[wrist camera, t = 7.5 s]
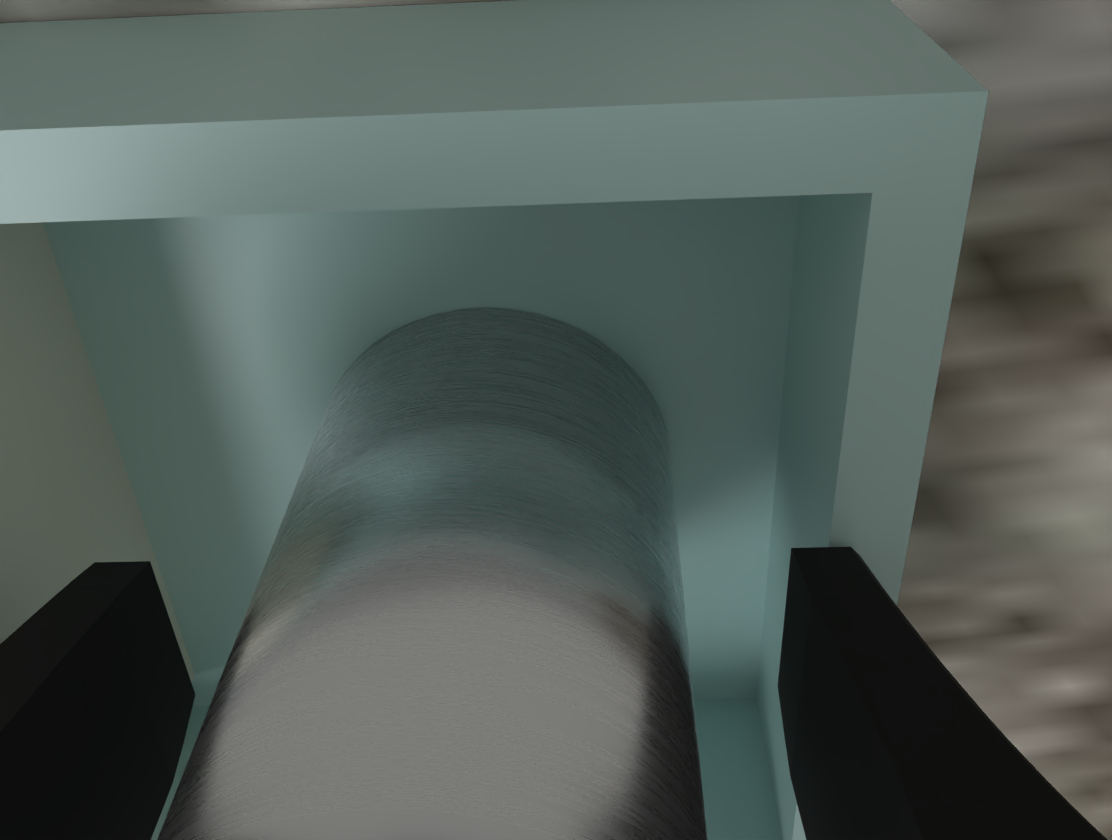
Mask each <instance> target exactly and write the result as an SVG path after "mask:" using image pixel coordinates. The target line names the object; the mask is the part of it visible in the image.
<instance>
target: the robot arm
mask: <svg viewBox="0 0 1112 840" xmlns="http://www.w3.org/2000/svg"><path fill="white" fill-rule="evenodd" d="M778 693H779V700H780V707H781V715H782V722H783V730H784V737H785V744H786V751H787V757H788V764H789V771H790V777H791V781H792V785H793V789H794V793H795V797H796V801H797V805H798V809H799V813H800V817H801V821H802V825H803V829H804V833H805V837H806V840H1107V839H1106V838H1105V837H1104V836H1103V835H1102V834H1101V833H1100V832H1099V831H1098V830H1096V829H1095V828H1094V827H1093V826H1092V825H1091V824H1090V823H1089V822H1088V821H1087V820H1086V819H1085V818H1084V817H1083V816H1082V815H1081V814H1080V813H1079V812H1078V811H1077V810H1076V809H1075V808H1074V807H1073V806H1072V805H1071V804H1070V803H1069V802H1068V801H1067V800H1066V799H1065V798H1064V797H1063V796H1062V795H1061V794H1060V793H1059V792H1058V791H1057V790H1056V789H1055V788H1054V787H1053V786H1052V785H1051V784H1050V783H1049V782H1048V781H1047V780H1046V779H1045V778H1044V777H1043V776H1042V775H1041V774H1040V773H1039V772H1038V771H1037V770H1036V769H1035V767H1034V766H1033V765H1032V764H1031V763H1030V762H1029V761H1028V760H1027V759H1026V758H1025V757H1024V756H1023V755H1022V754H1021V753H1020V752H1019V751H1018V750H1017V748H1016V747H1015V746H1014V745H1013V744H1012V743H1011V742H1010V741H1009V740H1008V739H1007V738H1006V737H1005V736H1004V734H1003V733H1002V732H1001V731H1000V730H999V729H998V728H997V727H996V726H995V724H994V723H993V722H992V721H991V720H990V719H989V718H988V717H987V716H986V714H985V713H984V712H983V711H982V710H981V709H980V707H979V706H978V705H977V704H976V703H975V702H974V700H973V699H972V698H971V697H970V696H969V695H968V693H967V692H966V691H965V690H964V689H963V687H962V686H961V685H960V684H959V683H958V682H957V680H956V679H955V678H954V677H953V676H952V675H951V673H950V672H949V671H948V670H947V669H946V668H945V666H944V665H943V664H942V663H941V661H940V660H939V659H938V658H937V657H936V655H935V654H934V653H933V652H932V650H931V649H930V648H929V647H928V645H927V644H926V643H925V642H924V640H923V639H922V638H921V637H920V635H919V634H918V633H917V631H916V630H915V629H914V628H913V626H912V625H911V624H910V622H909V621H908V620H907V619H906V617H905V616H904V615H903V613H902V612H901V611H900V609H899V608H898V607H897V606H896V604H895V603H894V602H893V600H892V599H891V598H890V596H889V595H888V593H887V592H886V591H885V589H884V588H883V587H882V585H881V584H880V583H879V581H878V580H877V578H876V577H875V576H874V574H873V573H872V572H871V570H870V569H869V567H868V566H867V565H866V563H865V562H864V560H863V559H862V557H861V556H860V555H859V554H858V553H857V552H856V551H855V550H854V549H853V548H852V547H811V548H791V555H790V565H789V575H788V585H787V595H786V606H785V616H784V626H783V636H782V646H781V656H780V666H779V676H778ZM194 698H195V692H194V689H193V686H192V683H191V680H190V677H189V674H188V671H187V668H186V665H185V662H184V659H183V656H182V653H181V650H180V648H179V645H178V642H177V639H176V636H175V633H174V630H173V627H172V624H171V621H170V618H169V615H168V612H167V609H166V606H165V603H164V601H163V598H162V595H161V592H160V589H159V586H158V583H157V580H156V577H155V574H154V571H153V568H152V565H151V562H150V561H135V562H94V563H93V564H92V565H91V566H89V567H88V568H87V569H86V570H84V571H83V572H82V573H81V574H80V575H78V576H77V577H76V578H75V579H74V580H72V581H71V582H70V583H69V584H68V585H67V586H65V587H64V588H63V589H62V590H61V591H60V592H58V593H57V594H56V595H55V596H54V597H53V598H52V599H50V600H49V601H48V602H47V603H46V604H45V605H44V606H43V607H41V608H40V609H39V610H38V611H37V612H36V613H35V614H34V615H32V616H31V617H30V618H29V619H28V620H27V621H26V622H25V623H23V624H22V625H21V626H20V627H19V628H18V629H17V630H16V631H14V632H13V633H12V634H11V635H10V636H9V637H8V638H6V639H5V640H4V641H3V642H2V643H1V644H0V840H151V838H152V835H153V833H154V830H155V828H156V825H157V822H158V820H159V817H160V815H161V812H162V810H163V807H164V805H165V802H166V799H167V797H168V794H169V792H170V789H171V786H172V784H173V780H174V777H175V773H176V769H177V766H178V762H179V758H180V755H181V751H182V747H183V744H184V740H185V736H186V731H187V727H188V723H189V719H190V715H191V711H192V707H193V702H194Z"/></svg>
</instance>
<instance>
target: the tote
mask: <svg viewBox="0 0 1112 840" xmlns="http://www.w3.org/2000/svg"><path fill="white" fill-rule="evenodd" d="M988 93H989V91H988V90H987V89H986V88H985V87H984V86H983V85H981V84H980V83H979V82H978V81H977V80H976V79H975V78H974V77H973V76H972V75H971V74H969V73H968V72H967V71H966V70H965V69H964V68H963V67H962V66H961V65H960V64H959V63H957V62H956V61H955V60H954V59H953V58H952V57H951V56H950V55H949V54H948V53H946V52H945V51H944V50H943V49H942V48H941V47H940V46H939V45H938V44H937V43H936V42H934V41H933V40H932V39H931V38H930V37H929V36H928V35H927V34H926V33H925V32H924V31H922V30H921V29H920V28H919V27H918V26H917V25H916V24H915V23H914V22H913V21H911V20H910V19H909V18H908V17H907V16H906V15H905V14H904V13H903V12H902V11H901V10H899V9H898V8H897V7H896V6H895V5H894V4H893V3H892V2H891V1H890V0H514V1H491V2H469V3H446V4H424V5H401V6H379V7H357V8H334V9H312V10H289V11H267V12H244V13H222V14H199V15H177V16H154V17H132V18H109V19H87V20H64V21H42V22H19V23H0V224H11V223H39V222H43V224H44V227H45V230H46V233H47V236H48V239H49V242H50V245H51V248H52V251H53V254H54V257H55V260H56V263H57V266H58V269H59V272H60V275H61V278H62V281H63V284H64V287H65V290H66V293H67V296H68V299H69V302H70V305H71V308H72V311H73V314H74V317H75V320H76V322H77V325H78V328H79V331H80V334H81V337H82V340H83V343H84V346H85V349H86V352H87V355H88V358H89V361H90V364H91V367H92V370H93V373H94V376H95V379H96V382H97V385H98V388H99V391H100V394H101V397H102V400H103V403H104V406H105V409H106V412H107V415H108V418H109V421H110V424H111V427H112V430H113V433H114V436H115V439H116V442H117V445H118V447H119V450H120V453H121V456H122V459H123V462H124V465H125V468H126V471H127V474H128V477H129V480H130V483H131V486H132V489H133V492H134V495H135V498H136V501H137V504H138V507H139V510H140V513H141V516H142V519H143V522H144V525H145V528H146V531H147V534H148V537H149V540H150V543H151V546H152V549H153V552H154V555H155V558H156V561H157V564H158V567H159V570H160V572H161V575H162V578H163V581H164V584H165V587H166V590H167V593H168V596H169V599H170V602H171V605H172V608H173V611H174V614H175V617H176V620H177V623H178V626H179V629H180V632H181V635H182V638H183V641H184V644H185V647H186V650H187V653H188V656H189V659H190V662H191V665H192V668H193V671H194V674H195V676H194V678H193V681H192V686H193V689H194V692H195V698H194V702H193V707H192V711H191V715H190V719H189V723H188V727H187V731H186V736H185V740H184V744H183V747H182V751H181V755H180V758H179V762H178V766H177V769H176V773H175V777H174V780H173V784H172V786H171V789H170V792H169V794H168V797H167V799H166V802H165V805H164V807H163V810H162V812H161V815H160V817H159V820H158V822H157V825H156V828H155V830H154V833H153V835H152V838H151V840H157V839H158V836H159V834H160V831H161V829H162V826H163V824H164V821H165V819H166V816H167V813H168V811H169V808H170V806H171V803H172V801H173V798H174V796H175V793H176V790H177V788H178V785H179V783H180V780H181V778H182V775H183V773H184V770H185V767H186V765H187V762H188V760H189V757H190V755H191V752H192V750H193V747H194V744H195V742H196V739H197V737H198V734H199V732H200V729H201V727H202V724H203V722H204V719H205V716H206V714H207V711H208V709H209V706H210V704H211V701H212V699H213V696H214V693H215V691H216V688H217V686H218V683H219V681H220V678H221V676H222V673H223V670H224V668H225V665H226V663H227V660H228V658H229V655H230V653H231V650H232V648H233V645H234V642H235V640H236V637H237V635H238V632H239V630H240V627H241V625H242V622H243V619H244V617H245V614H246V612H247V609H248V607H249V604H250V602H251V599H252V596H253V594H254V591H255V589H256V586H257V584H258V581H259V579H260V576H261V574H262V571H263V568H264V566H265V563H266V561H267V558H268V556H269V553H270V551H271V548H272V545H273V543H274V540H275V538H276V535H277V533H278V530H279V528H280V525H281V522H282V520H283V517H284V515H285V512H286V510H287V507H288V505H289V502H290V500H291V497H292V494H293V492H294V489H295V487H296V484H297V482H298V479H299V477H300V474H301V471H302V469H303V466H304V464H305V461H306V459H307V456H308V454H309V451H310V448H311V446H312V443H313V441H314V438H315V436H316V433H317V431H318V428H319V426H320V423H321V420H322V418H323V415H324V413H325V410H326V408H327V405H328V403H329V400H330V398H331V395H332V393H333V391H334V389H335V387H336V385H337V384H338V382H339V380H340V379H341V377H342V375H343V374H344V372H345V371H346V370H347V369H348V368H349V366H350V365H351V364H352V363H353V362H354V361H355V359H356V358H357V357H358V356H359V355H360V354H362V353H363V352H364V351H365V350H366V349H367V348H368V347H370V346H371V345H372V344H373V343H374V342H376V341H377V340H379V339H381V338H382V337H384V336H385V335H387V334H388V333H390V332H391V331H393V330H395V329H398V328H400V327H402V326H404V325H406V324H408V323H410V322H413V321H415V320H418V319H422V318H425V317H428V316H431V315H434V314H438V313H444V312H449V311H454V310H460V309H475V308H496V309H511V310H517V311H523V312H529V313H535V314H538V315H541V316H545V317H548V318H552V319H555V320H558V321H561V322H563V323H565V324H568V325H570V326H572V327H575V328H577V329H580V330H582V331H583V332H585V333H587V334H588V335H590V336H592V337H594V338H595V339H597V340H599V341H601V342H602V343H603V344H605V345H606V346H607V347H609V348H610V349H611V350H613V351H614V352H615V353H616V354H618V355H619V356H620V357H621V358H622V359H623V360H624V361H625V362H626V363H627V364H628V365H629V366H630V367H631V368H632V369H633V370H634V371H635V372H636V373H637V374H638V376H639V377H640V378H641V380H642V381H643V382H644V383H645V385H646V386H647V387H648V389H649V391H650V392H651V394H652V396H653V398H654V400H655V401H656V403H657V405H658V407H659V410H660V412H661V415H662V418H663V420H664V423H665V426H666V431H667V436H668V441H669V449H670V459H671V470H672V480H673V490H674V501H675V511H676V521H677V532H678V542H679V552H680V563H681V573H682V583H683V594H684V604H685V614H686V625H687V635H688V645H689V656H690V666H691V676H692V687H693V697H694V707H695V718H696V728H697V738H698V748H699V759H700V769H701V779H702V790H703V800H704V810H705V821H706V831H707V840H806V837H805V833H804V829H803V825H802V821H801V817H800V813H799V809H798V805H797V801H796V797H795V793H794V789H793V785H792V781H791V777H790V771H789V764H788V757H787V751H786V744H785V737H784V730H783V722H782V715H781V707H780V700H779V693H778V676H779V666H780V656H781V646H782V636H783V626H784V616H785V606H786V595H787V585H788V575H789V565H790V555H791V548H811V547H852V548H853V549H854V550H855V551H856V552H857V553H858V554H859V555H860V556H861V557H862V559H863V560H864V562H865V563H866V565H867V566H868V567H869V569H870V570H871V572H872V573H873V574H874V576H875V577H876V578H877V580H878V581H879V583H880V584H881V585H882V587H883V588H884V589H885V591H886V592H887V593H888V595H889V596H890V598H891V599H892V600H893V602H894V603H895V604H896V606H897V604H898V598H899V593H900V587H901V581H902V576H903V570H904V564H905V559H906V553H907V548H908V542H909V536H910V531H911V525H912V520H913V514H914V508H915V503H916V497H917V491H918V486H919V480H920V475H921V469H922V463H923V458H924V452H925V447H926V441H927V435H928V430H929V424H930V418H931V413H932V407H933V402H934V396H935V390H936V385H937V379H938V374H939V368H940V362H941V357H942V351H943V345H944V340H945V334H946V329H947V323H948V317H949V312H950V306H951V301H952V295H953V289H954V284H955V278H956V272H957V267H958V261H959V256H960V250H961V244H962V239H963V233H964V228H965V222H966V216H967V211H968V205H969V199H970V194H971V188H972V183H973V177H974V171H975V166H976V160H977V155H978V149H979V143H980V138H981V132H982V126H983V121H984V115H985V110H986V104H987V98H988Z"/></svg>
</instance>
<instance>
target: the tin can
mask: <svg viewBox="0 0 1112 840" xmlns="http://www.w3.org/2000/svg"><path fill="white" fill-rule="evenodd" d="M157 840H707V831H706V821H705V810H704V800H703V790H702V779H701V769H700V759H699V748H698V738H697V728H696V718H695V707H694V697H693V687H692V676H691V666H690V656H689V645H688V635H687V625H686V614H685V604H684V594H683V583H682V573H681V563H680V552H679V542H678V532H677V521H676V511H675V501H674V490H673V480H672V470H671V459H670V449H669V441H668V436H667V431H666V426H665V423H664V420H663V418H662V415H661V412H660V410H659V407H658V405H657V403H656V401H655V400H654V398H653V396H652V394H651V392H650V391H649V389H648V387H647V386H646V385H645V383H644V382H643V381H642V380H641V378H640V377H639V376H638V374H637V373H636V372H635V371H634V370H633V369H632V368H631V367H630V366H629V365H628V364H627V363H626V362H625V361H624V360H623V359H622V358H621V357H620V356H619V355H618V354H616V353H615V352H614V351H613V350H611V349H610V348H609V347H607V346H606V345H605V344H603V343H602V342H601V341H599V340H597V339H595V338H594V337H592V336H590V335H588V334H587V333H585V332H583V331H582V330H580V329H577V328H575V327H572V326H570V325H568V324H565V323H563V322H561V321H558V320H555V319H552V318H548V317H545V316H541V315H538V314H535V313H529V312H523V311H517V310H511V309H496V308H475V309H460V310H454V311H449V312H444V313H438V314H434V315H431V316H428V317H425V318H422V319H418V320H415V321H413V322H410V323H408V324H406V325H404V326H402V327H400V328H398V329H395V330H393V331H391V332H390V333H388V334H387V335H385V336H384V337H382V338H381V339H379V340H377V341H376V342H374V343H373V344H372V345H371V346H370V347H368V348H367V349H366V350H365V351H364V352H363V353H362V354H360V355H359V356H358V357H357V358H356V359H355V361H354V362H353V363H352V364H351V365H350V366H349V368H348V369H347V370H346V371H345V372H344V374H343V375H342V377H341V379H340V380H339V382H338V384H337V385H336V387H335V389H334V391H333V393H332V395H331V398H330V400H329V403H328V405H327V408H326V410H325V413H324V415H323V418H322V420H321V423H320V426H319V428H318V431H317V433H316V436H315V438H314V441H313V443H312V446H311V448H310V451H309V454H308V456H307V459H306V461H305V464H304V466H303V469H302V471H301V474H300V477H299V479H298V482H297V484H296V487H295V489H294V492H293V494H292V497H291V500H290V502H289V505H288V507H287V510H286V512H285V515H284V517H283V520H282V522H281V525H280V528H279V530H278V533H277V535H276V538H275V540H274V543H273V545H272V548H271V551H270V553H269V556H268V558H267V561H266V563H265V566H264V568H263V571H262V574H261V576H260V579H259V581H258V584H257V586H256V589H255V591H254V594H253V596H252V599H251V602H250V604H249V607H248V609H247V612H246V614H245V617H244V619H243V622H242V625H241V627H240V630H239V632H238V635H237V637H236V640H235V642H234V645H233V648H232V650H231V653H230V655H229V658H228V660H227V663H226V665H225V668H224V670H223V673H222V676H221V678H220V681H219V683H218V686H217V688H216V691H215V693H214V696H213V699H212V701H211V704H210V706H209V709H208V711H207V714H206V716H205V719H204V722H203V724H202V727H201V729H200V732H199V734H198V737H197V739H196V742H195V744H194V747H193V750H192V752H191V755H190V757H189V760H188V762H187V765H186V767H185V770H184V773H183V775H182V778H181V780H180V783H179V785H178V788H177V790H176V793H175V796H174V798H173V801H172V803H171V806H170V808H169V811H168V813H167V816H166V819H165V821H164V824H163V826H162V829H161V831H160V834H159V836H158V839H157Z"/></svg>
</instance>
